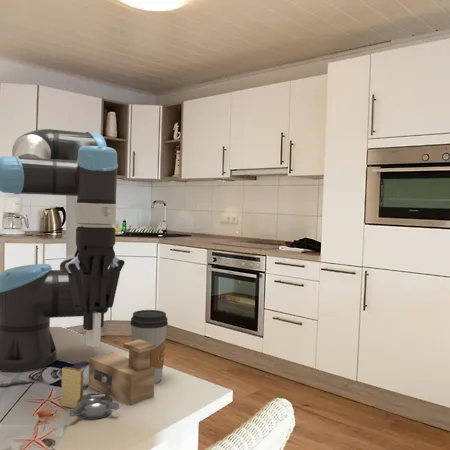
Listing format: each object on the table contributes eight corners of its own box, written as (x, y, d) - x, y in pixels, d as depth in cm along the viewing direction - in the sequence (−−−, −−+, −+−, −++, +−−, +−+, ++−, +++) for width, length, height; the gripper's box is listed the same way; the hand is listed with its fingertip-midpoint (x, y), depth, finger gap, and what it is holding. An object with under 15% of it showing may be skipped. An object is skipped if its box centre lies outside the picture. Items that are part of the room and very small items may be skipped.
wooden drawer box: (84, 387, 101) (85, 337, 100) (112, 378, 106) (113, 330, 106) (126, 407, 92) (127, 352, 92) (154, 396, 98) (156, 344, 97)
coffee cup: (158, 388, 102) (161, 319, 101) (122, 384, 103) (124, 316, 103) (171, 375, 110) (173, 311, 109) (137, 371, 112) (139, 308, 111)
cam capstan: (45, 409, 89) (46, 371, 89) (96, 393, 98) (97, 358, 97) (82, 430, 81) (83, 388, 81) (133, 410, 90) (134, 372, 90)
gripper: (78, 226, 86) (74, 356, 86) (134, 226, 96) (131, 342, 96) (55, 225, 91) (52, 347, 91) (111, 225, 101) (108, 335, 101)
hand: (93, 345), depth 94 cm, fingers closed
